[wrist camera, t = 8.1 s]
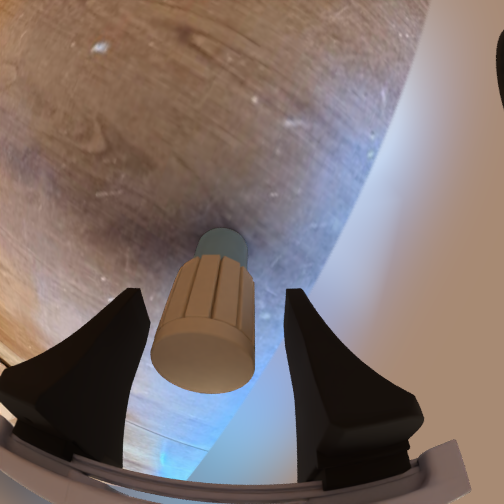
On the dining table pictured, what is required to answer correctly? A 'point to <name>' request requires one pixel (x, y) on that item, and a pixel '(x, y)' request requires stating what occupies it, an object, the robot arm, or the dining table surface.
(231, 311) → the fluted tan knob
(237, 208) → the dining table surface
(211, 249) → the bottle
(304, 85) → the dining table surface
